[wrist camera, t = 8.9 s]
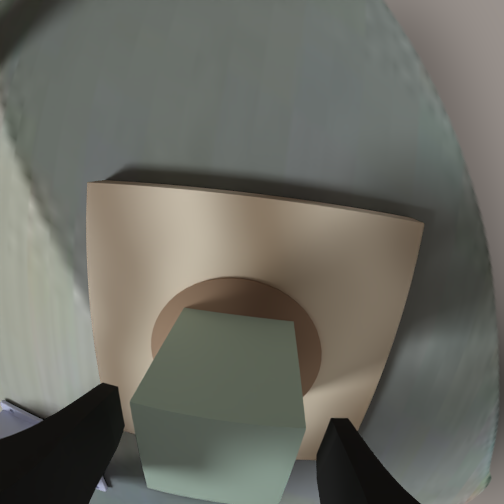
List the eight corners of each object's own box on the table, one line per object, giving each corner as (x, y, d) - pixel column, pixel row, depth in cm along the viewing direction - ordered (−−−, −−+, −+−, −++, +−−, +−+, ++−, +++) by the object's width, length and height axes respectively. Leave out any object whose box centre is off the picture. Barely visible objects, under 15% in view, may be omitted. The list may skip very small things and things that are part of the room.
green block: (183, 389, 14) (147, 487, 8) (184, 307, 13) (129, 401, 7) (277, 402, 14) (277, 507, 8) (293, 321, 13) (306, 428, 7)
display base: (118, 411, 17) (108, 428, 15) (103, 180, 13) (84, 182, 12) (339, 442, 17) (343, 462, 15) (410, 217, 13) (426, 224, 11)
